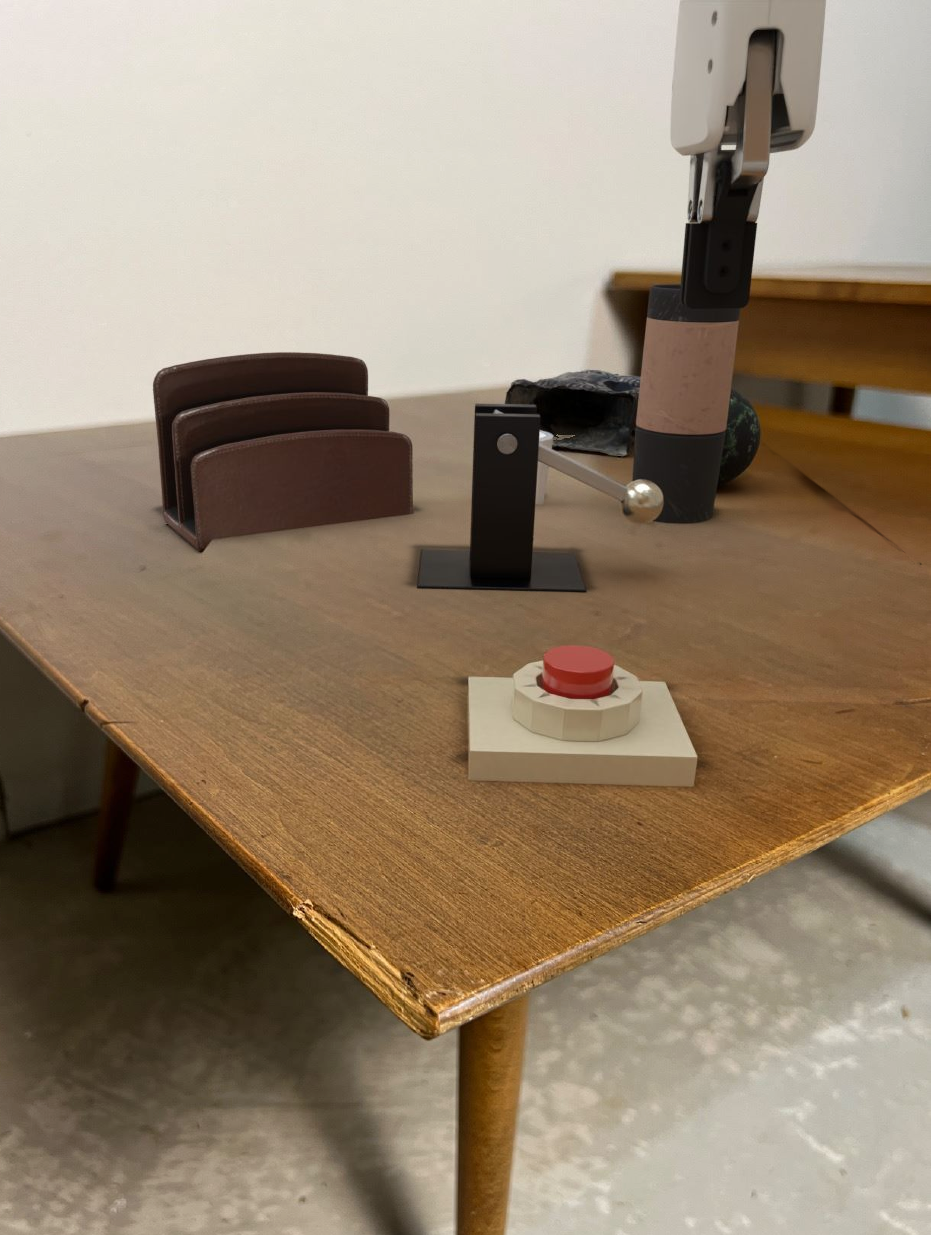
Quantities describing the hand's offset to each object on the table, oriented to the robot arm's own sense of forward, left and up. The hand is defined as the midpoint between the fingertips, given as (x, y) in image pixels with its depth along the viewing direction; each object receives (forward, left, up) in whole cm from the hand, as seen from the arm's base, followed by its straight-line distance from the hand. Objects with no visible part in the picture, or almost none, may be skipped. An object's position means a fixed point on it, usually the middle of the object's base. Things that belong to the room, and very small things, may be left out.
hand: (713, 306), depth 55 cm
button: (+7, +8, -18) cm, 21 cm away
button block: (+7, +8, -21) cm, 24 cm away
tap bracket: (+10, -18, -21) cm, 29 cm away
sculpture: (-5, -80, -21) cm, 83 cm away
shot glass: (+8, -40, -21) cm, 46 cm away
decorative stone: (-12, -51, -21) cm, 56 cm away
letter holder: (+28, -33, -21) cm, 48 cm away
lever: (+5, -18, -14) cm, 23 cm away
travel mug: (-6, -36, -21) cm, 42 cm away
